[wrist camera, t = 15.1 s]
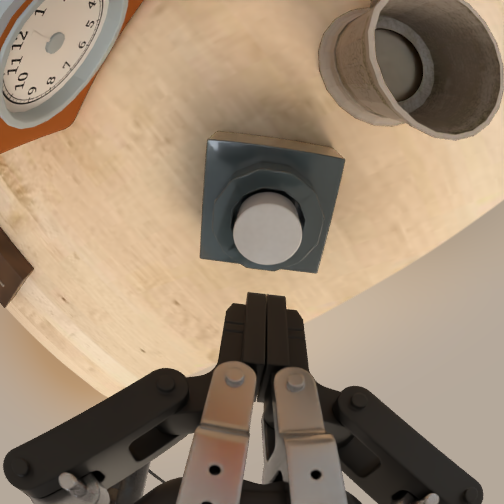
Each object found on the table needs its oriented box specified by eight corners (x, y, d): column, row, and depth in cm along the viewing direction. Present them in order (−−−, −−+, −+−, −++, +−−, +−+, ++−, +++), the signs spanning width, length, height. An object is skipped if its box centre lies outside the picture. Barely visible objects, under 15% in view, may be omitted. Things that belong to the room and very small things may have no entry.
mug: (446, 112, 19) (548, 146, 9) (344, 139, 22) (408, 189, 11) (388, -42, 13) (460, -100, 3) (274, -25, 15) (279, -109, 5)
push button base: (311, 248, 27) (320, 289, 21) (208, 234, 26) (194, 273, 21) (333, 147, 22) (353, 166, 17) (216, 130, 22) (200, 144, 17)
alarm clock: (70, 138, 22) (-45, 195, 10) (15, 102, 20) (-93, 139, 8) (156, -11, 16) (58, -73, 4) (86, -35, 13) (-17, -71, 2)
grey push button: (292, 252, 20) (295, 269, 19) (233, 244, 20) (229, 260, 19) (304, 196, 18) (308, 209, 17) (239, 187, 18) (236, 199, 17)
